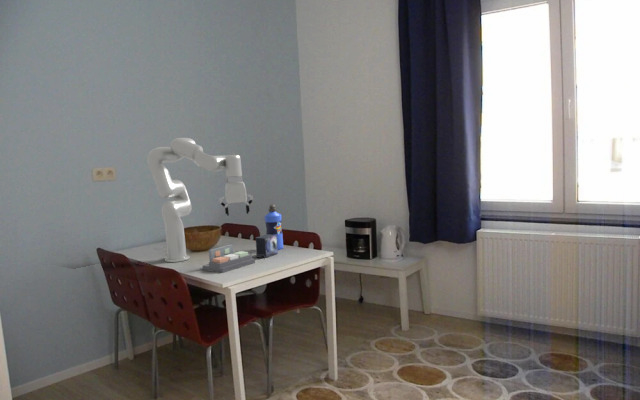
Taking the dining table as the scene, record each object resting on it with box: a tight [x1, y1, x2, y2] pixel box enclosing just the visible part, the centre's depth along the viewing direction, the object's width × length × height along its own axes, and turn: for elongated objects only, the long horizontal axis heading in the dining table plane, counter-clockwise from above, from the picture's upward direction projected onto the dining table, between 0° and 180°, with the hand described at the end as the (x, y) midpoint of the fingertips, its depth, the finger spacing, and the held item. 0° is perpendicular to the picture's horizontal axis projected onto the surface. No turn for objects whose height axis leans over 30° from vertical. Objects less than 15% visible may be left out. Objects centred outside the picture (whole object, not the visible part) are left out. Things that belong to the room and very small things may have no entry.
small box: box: [255, 234, 279, 259], centre depth 263 cm, size 11×6×10 cm, turn 148°
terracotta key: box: [212, 257, 228, 263], centre depth 237 cm, size 5×5×2 cm
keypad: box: [202, 244, 256, 274], centre depth 243 cm, size 14×21×9 cm, turn 143°
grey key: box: [223, 254, 238, 260], centre depth 243 cm, size 5×5×2 cm
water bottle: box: [264, 203, 284, 251], centre depth 279 cm, size 9×9×25 cm
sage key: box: [233, 250, 249, 257], centre depth 248 cm, size 5×5×2 cm
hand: (237, 214), depth 250 cm, fingers open, 9 cm apart
